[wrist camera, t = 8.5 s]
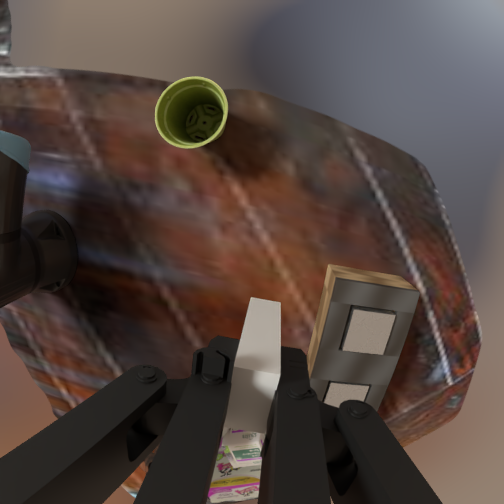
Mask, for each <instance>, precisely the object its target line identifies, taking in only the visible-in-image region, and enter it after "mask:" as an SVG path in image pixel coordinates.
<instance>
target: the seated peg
mask: <svg viewBox="0 0 504 504" xmlns="http://www.w3.org/2000/svg"><path fill="white" fill-rule="evenodd" d="M368 389H369V384H362V383H351V382H340V381H331V380H329V382H328V385H327V388H326V391H325V394H324V397H323V400H322V402H323V403H326V404H328V405H331V406H335V407H338V408H339V406H340V404H341V403H342V402H343V401H346V400H350V399H351V400H360V401H364V399H365V396H366V394H367V391H368Z"/></svg>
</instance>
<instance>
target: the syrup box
mask: <svg viewBox="0 0 504 504" xmlns="http://www.w3.org/2000/svg"><path fill="white" fill-rule="evenodd" d="M266 428H267V427H266ZM265 436H266V431H265V434H263V433H257V432H250V431H244V430H239V429H233V428H230V429H229V430H228V432H227V433H226V434H225V435H224V436H223V440H222V448H223V450H224V452H225V454H226V456H227V458H228V460H229V462H230V463H231V465H232V466H233V468H239V467H251V466H259V465H261V463H262V457H259V456H260V453H261V449H262V446H263V443H264V439H265Z"/></svg>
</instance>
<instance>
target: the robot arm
mask: <svg viewBox="0 0 504 504" xmlns="http://www.w3.org/2000/svg"><path fill="white" fill-rule="evenodd" d="M30 153H31V147H30V144H29V142H28V141H27V140H26V139H24V138H22V137H20V136H17V135H14V134H11V133H7V132H4V131H0V308H2V307H3V306H5V305H7V304H9V303H11V302H13V301H15V300H17V299H19V298H21V297H23V296H25V295H27V294H29V293H31V292H33V293H51V292H55V291H57V290H59V289H61V288H63V287H65V286H66V285H68V284H69V283H70V281H71V280H72V278H73V276H74V274H75V271H76V268H77V260H78V254H77V246H76V241H75V238H74V235H73V233H72V230H71V229H70V227H69V225H68V224H67V222H66V221H65V220H64V219H63V218H62V217H61V216H60V215H59V214H57V213H55V212H53V211H50V210H40V211H35V212H32V213H30V214H28V215H27V216H25V217H24V218H23V219H22V213H23V203H24V195H25V187H26V180H27V174H28V173H29V160H30ZM224 427H228V428H233V429H239V430H244V431H250V432H257V433H263V434H265V431H266V436H265V439H264V443H263V446H262V449H261V453H260V456H259V457H262V463H261V474H260V484H259V494H258V504H331V500H330V496H331V498H332V501H333V503H334V504H442V502H441V501H440V499H439V498H438V496H437V495H436V494H435V492H434V491H433V489H432V488H431V487H430V486H429V484H428V483H427V481H426V480H425V478H424V477H423V475H422V474H421V473H420V471H419V470H418V469H417V467H416V466H415V464H414V463H413V462H412V461H411V459H410V457H409V456H408V455H407V453H406V452H405V450H404V449H403V448H402V446H401V445H400V443H399V442H398V441H397V439H396V438H395V437H394V435H393V434H392V432H391V431H390V430H389V428H388V427H387V425H386V424H385V423H384V421H383V420H382V419H381V417H380V416H379V414H378V413H377V412H376V410H375V409H374V408H373V407H372V406H371V405H369V404H368V403H366V402H363V401H360V400H351V399H350V400H346V401H343V402H342V403H341V404H340V406H339V408H338V407H335V406H331V405H328V404H326V403H323V402H321V401H320V400H318V398H317V394H316V392H315V390H313V389H312V388H311V387H310V379H309V372H308V364H307V357H306V355H305V354H304V352H303V351H302V350H301V349H296V348H290V347H283V346H281V302H275V301H269V300H264V299H258V298H253V297H251V299H250V303H249V307H248V311H247V315H246V319H245V323H244V327H243V331H242V335H241V339H240V340H238V339H233V338H228V337H223V336H217V337H215V338H213V339H212V340H211V341H210V343H209V346H208V347H207V348H201V349H198V350H196V351H195V352H194V353H193V363H192V374H191V376H190V377H189V378H186V379H167V376H166V374H165V373H164V371H162V370H161V369H159V368H158V367H154V366H151V365H139V366H135V367H133V368H130V369H129V370H128V371H126V372H125V373H123V374H122V375H121V376H119V377H118V378H116V379H115V380H114V381H112V382H111V383H109V384H108V385H106V386H105V387H104V388H102V389H101V390H99V391H98V392H96V393H95V394H94V395H92V396H91V397H89V398H88V399H87V400H85V401H84V402H82V403H81V404H79V405H78V406H76V407H75V408H74V409H72V410H71V411H69V412H68V413H66V414H65V415H63V416H62V417H61V418H59V419H58V420H56V421H55V422H53V423H52V424H50V425H49V426H47V427H46V428H44V429H43V430H42V431H40V432H39V433H37V434H36V435H34V436H33V437H31V438H30V439H28V440H27V441H25V442H24V443H22V444H21V445H20V446H18V447H16V448H15V449H13V450H12V451H10V452H9V453H7V454H6V455H4V456H3V457H1V458H0V504H102V503H103V502H104V501H105V500H106V499H107V498H108V497H109V496H110V495H111V494H112V493H113V492H114V491H115V490H116V489H117V488H118V487H119V486H120V485H121V484H122V483H123V482H124V481H125V480H126V479H127V478H128V477H129V476H130V475H131V474H132V473H133V472H134V471H135V469H136V468H137V467H138V466H139V465H140V464H141V463H142V462H143V461H144V460H145V459H146V458H147V457H148V456H149V454H150V453H151V452H152V451H153V450H154V449H155V448H156V447H157V446H158V445H159V444H160V445H159V447H158V449H157V452H156V454H155V456H154V458H153V461H152V463H151V465H150V467H149V470H148V472H147V474H146V476H145V478H144V481H143V483H142V485H141V487H140V490H139V492H138V494H137V496H136V499H135V501H134V503H133V504H206V502H207V498H208V493H209V489H210V485H211V481H212V477H213V473H214V468H215V464H216V460H217V456H218V451H219V447H220V443H221V439H222V433H223V428H224ZM266 427H267V428H266ZM160 442H161V443H160Z"/></svg>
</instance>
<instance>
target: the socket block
mask: <svg viewBox="0 0 504 504" xmlns="http://www.w3.org/2000/svg"><path fill="white" fill-rule="evenodd" d="M419 295H420V292H419V291H418V290H417V289H416V288H414V287H413V286H412V285H411V284H410V283H408V282H407V281H406V280H405V279H404V278H402V277H401V276H396V275H390V274H384V273H378V272H372V271H366V270H360V269H355V268H349V267H343V266H337V265H331V264H328V268H327V273H326V278H325V282H324V287H323V291H322V296H321V300H320V305H319V309H318V313H317V317H316V322H315V326H314V330H313V334H312V338H311V342H310V346H309V350H308V353H307V364H308V372H309V379H310V387H311V388H312V389H313V390H315V392H316V394H317V398H318V400H320V401H321V402H322V400H323V397H324V394H325V391H326V388H327V385H328V382H329V380H331V381H340V382H351V383H362V384H369V389H368V391H367V394H366V396H365V399H364V401H363V402H366V403H368V404H369V405H371V406H372V407H373V408H374V409H375V410H376V412H377V411H378V408H379V406H380V404H381V402H382V399H383V397H384V395H385V392H386V390H387V387H388V385H389V383H390V380H391V378H392V375H393V372H394V370H395V367H396V365H397V362H398V359H399V357H400V354H401V351H402V348H403V346H404V343H405V340H406V337H407V334H408V331H409V328H410V325H411V322H412V319H413V315H414V312H415V309H416V305H417V302H418V299H419ZM351 305H358V306H365V307H372V308H379V309H386V310H392V311H393V312H394V314H395V315H396V316H395V319H394V323H393V326H392V329H391V332H390V335H389V338H388V341H387V344H386V347H385V350H384V353H383V355H379V354H369V353H360V352H351V351H343V350H342V348H341V345H340V343H341V339H342V336H343V332H344V329H345V325H346V321H347V318H348V314H349V310H350V306H351Z"/></svg>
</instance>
